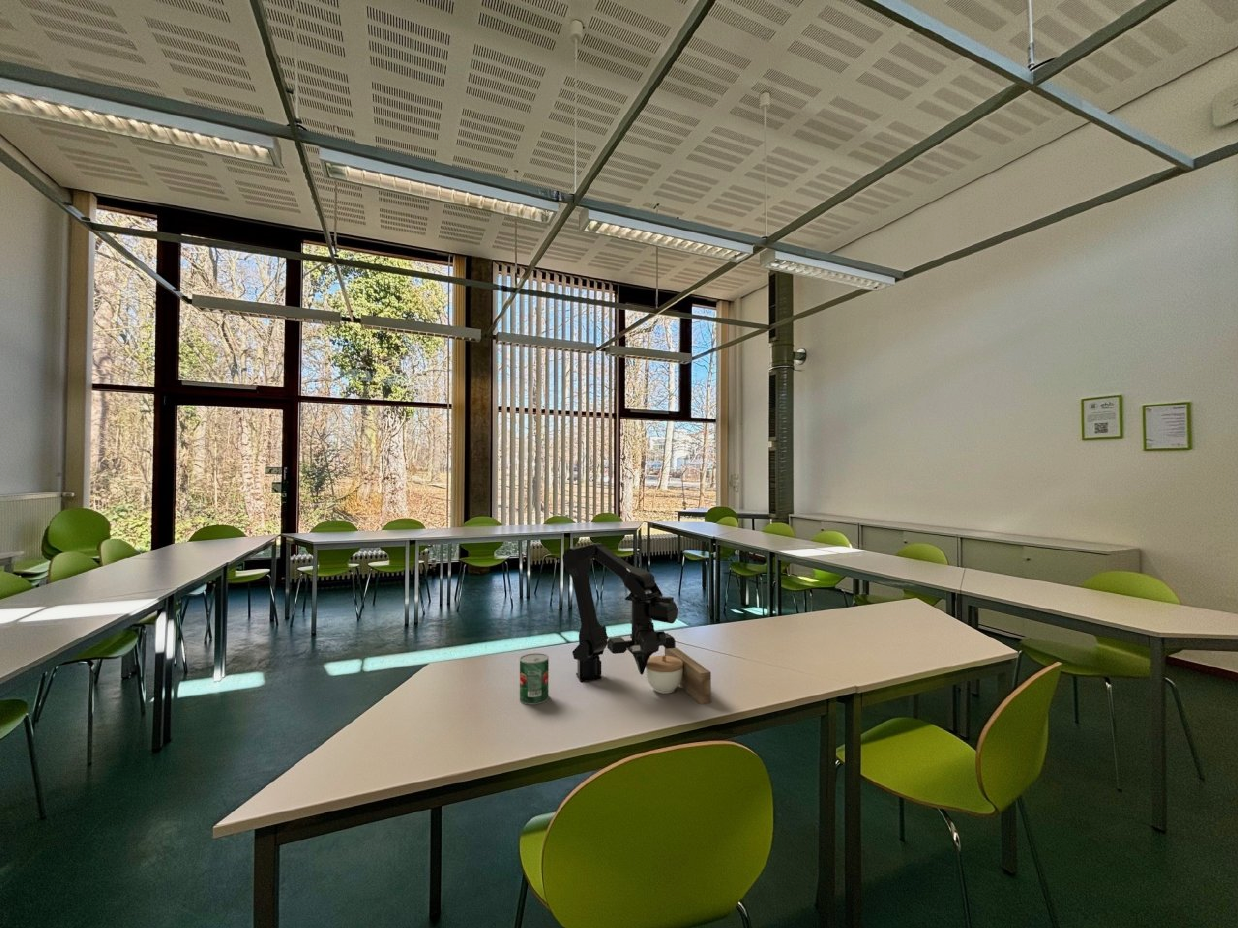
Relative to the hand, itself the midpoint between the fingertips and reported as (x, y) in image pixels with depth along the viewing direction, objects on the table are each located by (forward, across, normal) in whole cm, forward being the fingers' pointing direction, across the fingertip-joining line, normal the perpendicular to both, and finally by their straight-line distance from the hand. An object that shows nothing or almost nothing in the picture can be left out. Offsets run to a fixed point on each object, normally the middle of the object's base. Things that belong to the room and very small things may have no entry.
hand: (641, 673), depth 141 cm
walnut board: (+5, +14, 0) cm, 15 cm away
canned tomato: (+6, -29, +6) cm, 30 cm away
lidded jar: (+5, +7, 0) cm, 9 cm away
